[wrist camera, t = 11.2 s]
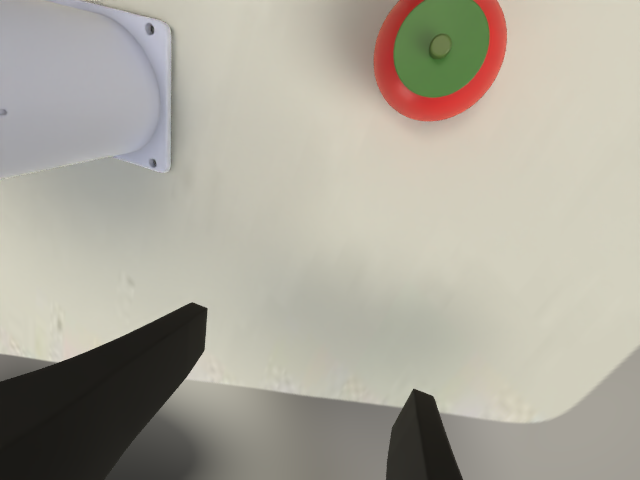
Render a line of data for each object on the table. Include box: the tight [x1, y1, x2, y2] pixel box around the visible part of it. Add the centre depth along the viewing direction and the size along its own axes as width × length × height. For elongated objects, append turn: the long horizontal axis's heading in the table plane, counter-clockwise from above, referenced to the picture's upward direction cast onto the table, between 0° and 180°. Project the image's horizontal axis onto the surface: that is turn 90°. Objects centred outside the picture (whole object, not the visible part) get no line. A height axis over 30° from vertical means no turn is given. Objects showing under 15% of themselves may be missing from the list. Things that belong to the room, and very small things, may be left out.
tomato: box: [374, 0, 507, 121], centre depth 12 cm, size 5×5×6 cm
